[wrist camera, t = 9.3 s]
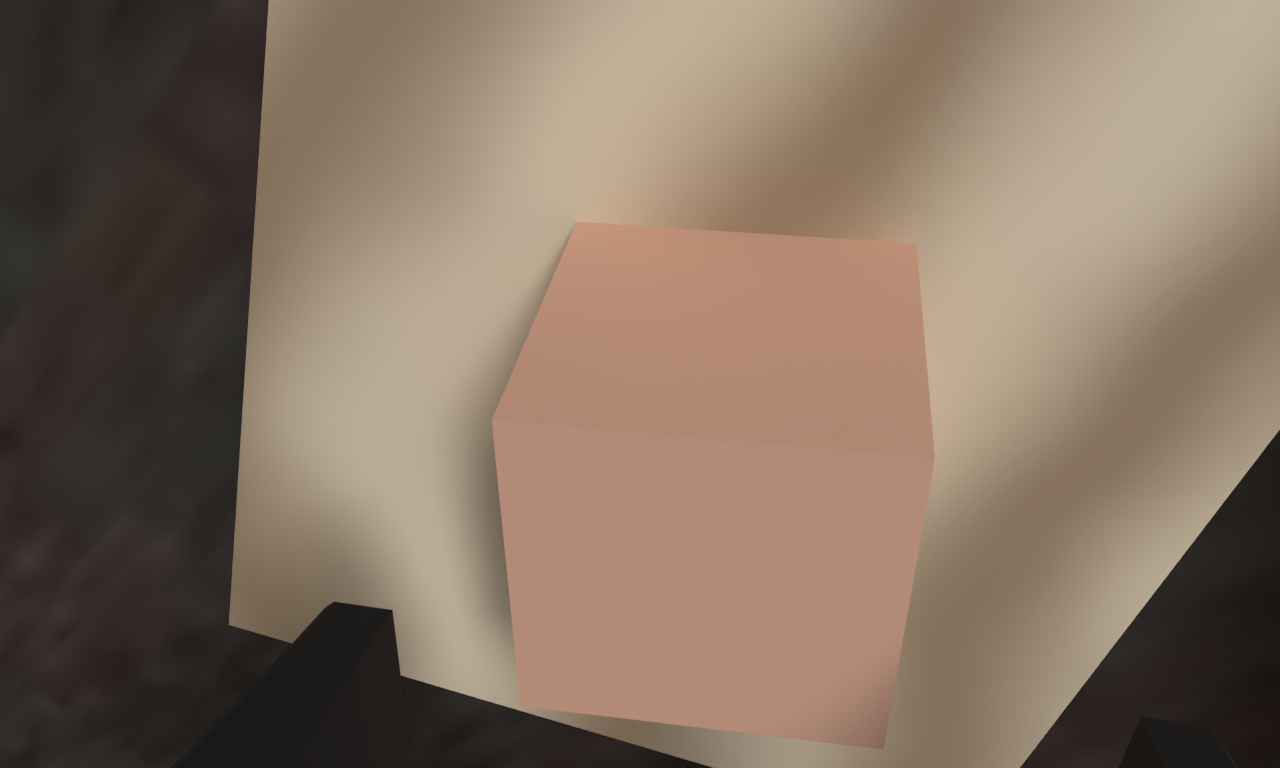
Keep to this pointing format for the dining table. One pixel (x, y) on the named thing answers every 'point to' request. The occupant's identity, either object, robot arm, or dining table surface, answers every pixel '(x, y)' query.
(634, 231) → the terracotta cube
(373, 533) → the maple board
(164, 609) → the dining table surface
